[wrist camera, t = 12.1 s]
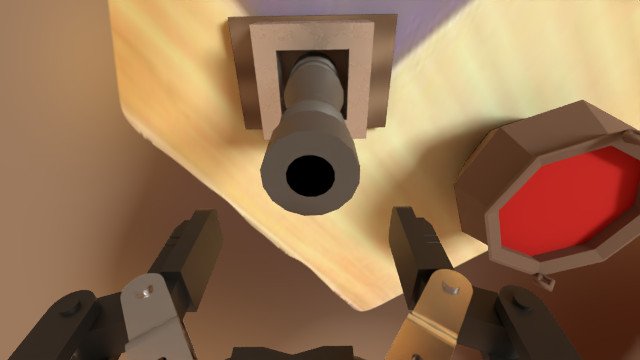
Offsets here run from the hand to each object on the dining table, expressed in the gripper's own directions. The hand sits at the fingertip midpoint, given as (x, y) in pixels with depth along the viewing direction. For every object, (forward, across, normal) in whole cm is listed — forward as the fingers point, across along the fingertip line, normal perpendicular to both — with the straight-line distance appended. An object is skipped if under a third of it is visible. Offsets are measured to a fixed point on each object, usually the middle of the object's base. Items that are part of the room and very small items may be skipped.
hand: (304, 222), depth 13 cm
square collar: (+29, 0, 0) cm, 29 cm away
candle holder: (+29, 0, 0) cm, 29 cm away
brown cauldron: (+30, -31, +14) cm, 46 cm away
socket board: (+30, 0, 0) cm, 30 cm away
